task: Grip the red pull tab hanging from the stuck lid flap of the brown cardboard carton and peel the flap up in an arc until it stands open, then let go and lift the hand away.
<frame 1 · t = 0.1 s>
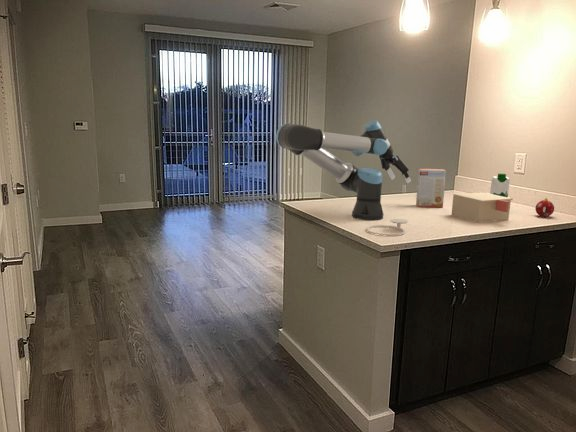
hand: (401, 180, 254), 15 cm above the table, tool tilted 35°, fingers open, 13 cm apart
lid flap: (486, 202, 235), point 8 cm above the table, hinge at 0.0°
christmas ornament: (543, 216, 246), on the table
carton: (479, 217, 240), on the table
milk carton: (497, 210, 261), on the table
cracker box: (428, 206, 265), on the table
hand towel holder: (387, 232, 207), on the table
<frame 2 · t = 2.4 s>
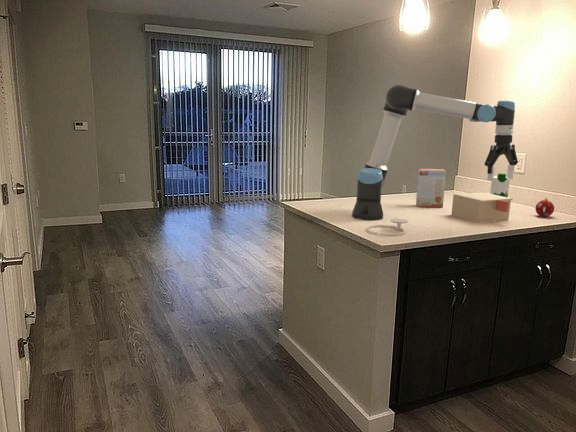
hand: (500, 179, 226), 21 cm above the table, tool pointing down, fingers open, 13 cm apart
nothing on the table moved.
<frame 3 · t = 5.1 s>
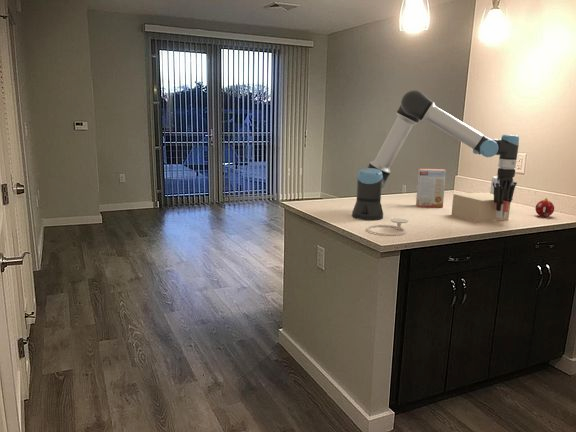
hand: (500, 217, 228), 3 cm above the table, tool pointing down, fingers closed on lid flap, 1 cm apart
lid flap: (486, 202, 235), point 8 cm above the table, hinge at 0.0°, touching gripper
everything else where it was.
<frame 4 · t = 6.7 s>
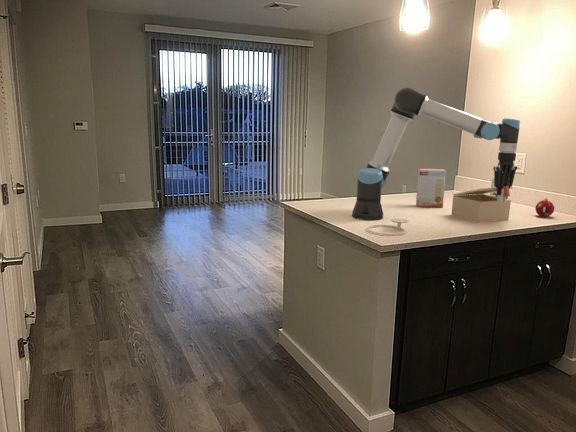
hand: (501, 201, 227), 10 cm above the table, tool pointing down, fingers closed on lid flap, 1 cm apart
lid flap: (487, 194, 234), point 12 cm above the table, hinge at 17.3°, touching gripper
everything else where it was.
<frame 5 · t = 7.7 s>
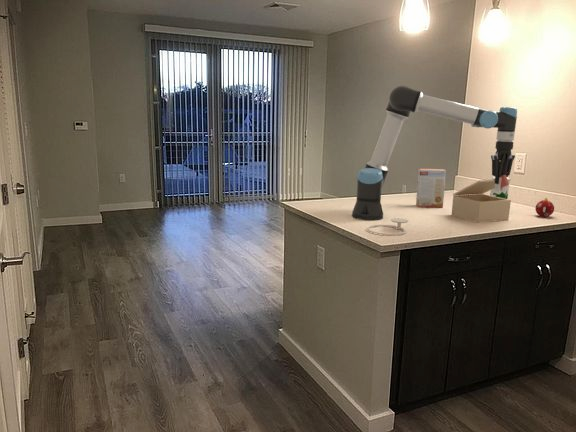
hand: (498, 190, 228), 15 cm above the table, tool pointing down, fingers closed on lid flap, 1 cm apart
lid flap: (486, 189, 234), point 15 cm above the table, hinge at 29.8°, touching gripper
everything else where it was.
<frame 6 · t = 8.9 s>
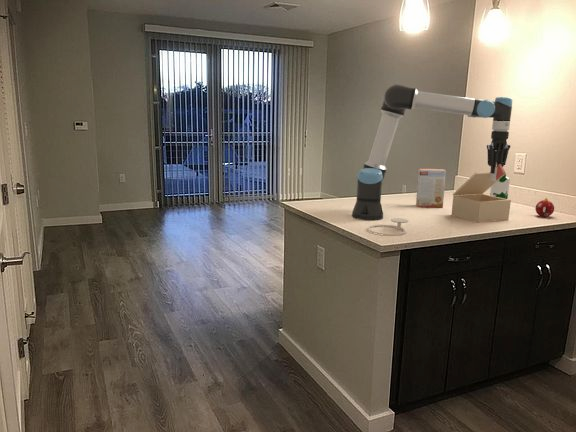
hand: (494, 180, 230), 20 cm above the table, tool pointing down, fingers closed on lid flap, 2 cm apart
lid flap: (485, 183, 235), point 17 cm above the table, hinge at 43.2°, touching gripper
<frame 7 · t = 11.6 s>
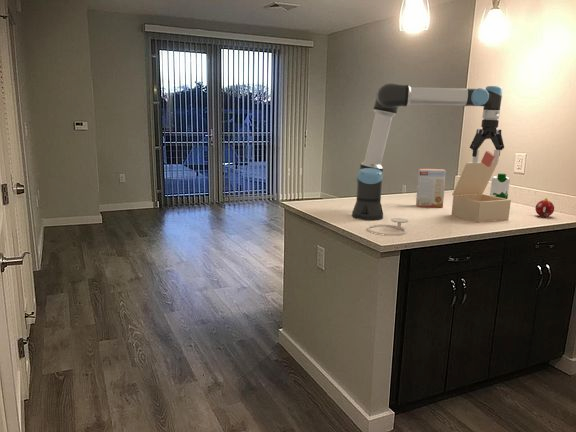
hand: (485, 163, 234), 27 cm above the table, tool pointing down, fingers open, 13 cm apart
lid flap: (480, 175, 238), point 21 cm above the table, hinge at 66.6°
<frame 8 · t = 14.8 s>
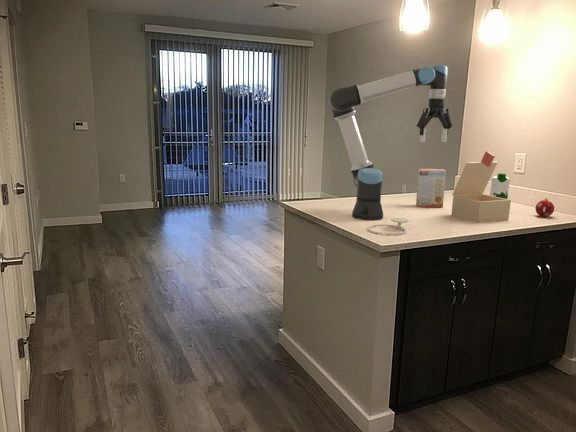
hand: (433, 141, 238), 37 cm above the table, tool pointing down, fingers open, 13 cm apart
at the end: lid flap at +67° (first picture: +0°); the gripper is holding nothing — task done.
